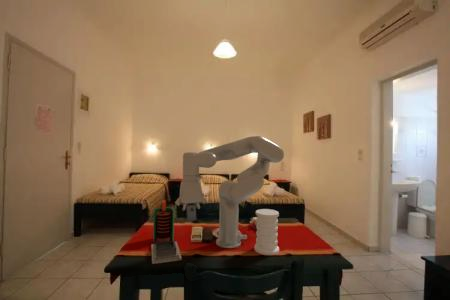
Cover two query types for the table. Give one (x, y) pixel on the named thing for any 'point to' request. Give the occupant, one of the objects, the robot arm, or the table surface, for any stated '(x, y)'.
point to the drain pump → (191, 212)
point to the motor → (163, 223)
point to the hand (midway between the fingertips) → (191, 217)
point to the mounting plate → (165, 252)
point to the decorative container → (267, 232)
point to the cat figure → (253, 222)
